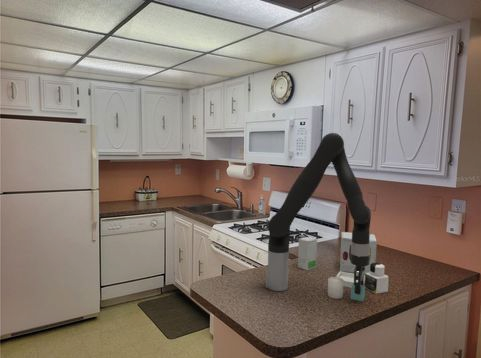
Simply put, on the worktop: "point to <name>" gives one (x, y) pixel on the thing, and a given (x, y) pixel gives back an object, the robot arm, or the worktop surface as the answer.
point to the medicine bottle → (376, 279)
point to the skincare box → (307, 253)
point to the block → (358, 296)
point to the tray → (347, 278)
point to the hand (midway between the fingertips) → (359, 290)
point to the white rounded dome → (335, 287)
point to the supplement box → (346, 252)
